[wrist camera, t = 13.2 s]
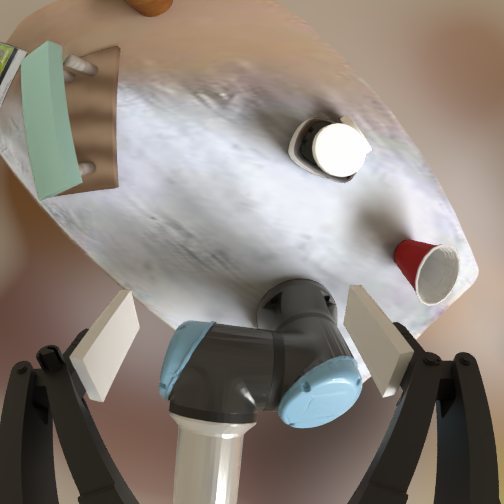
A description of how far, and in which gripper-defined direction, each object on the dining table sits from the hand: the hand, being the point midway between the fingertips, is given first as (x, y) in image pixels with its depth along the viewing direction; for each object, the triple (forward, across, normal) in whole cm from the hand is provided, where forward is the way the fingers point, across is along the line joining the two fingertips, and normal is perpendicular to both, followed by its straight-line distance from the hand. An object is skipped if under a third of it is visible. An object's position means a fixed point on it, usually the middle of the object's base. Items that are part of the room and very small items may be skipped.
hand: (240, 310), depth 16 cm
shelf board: (+21, +28, -18) cm, 40 cm away
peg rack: (+31, +28, -18) cm, 45 cm away
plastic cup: (+31, -32, +8) cm, 45 cm away
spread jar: (+31, -14, -11) cm, 36 cm away
